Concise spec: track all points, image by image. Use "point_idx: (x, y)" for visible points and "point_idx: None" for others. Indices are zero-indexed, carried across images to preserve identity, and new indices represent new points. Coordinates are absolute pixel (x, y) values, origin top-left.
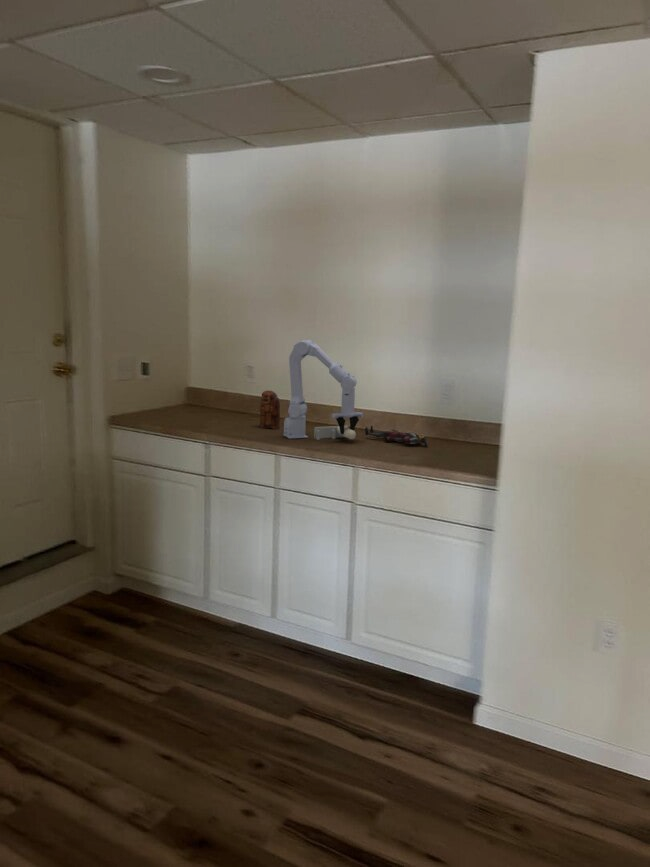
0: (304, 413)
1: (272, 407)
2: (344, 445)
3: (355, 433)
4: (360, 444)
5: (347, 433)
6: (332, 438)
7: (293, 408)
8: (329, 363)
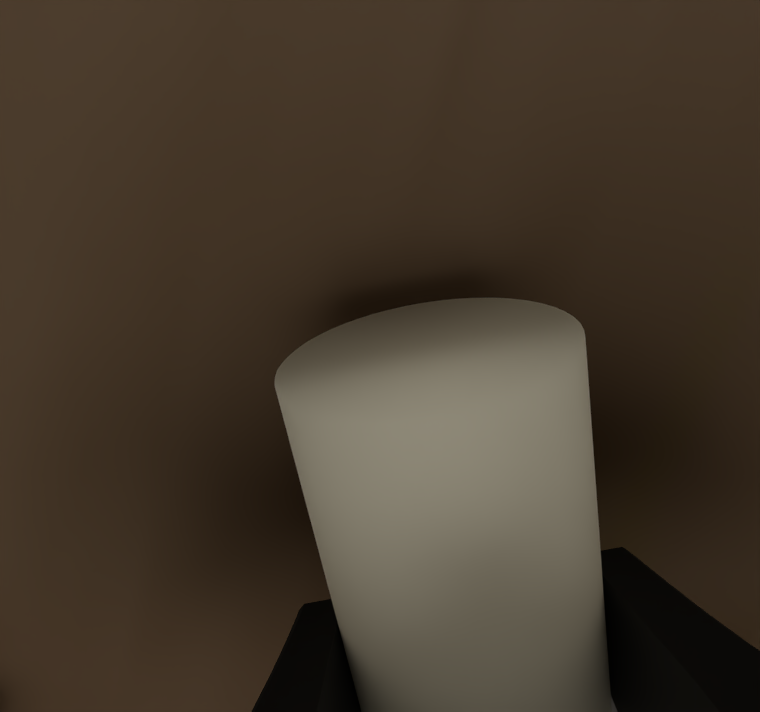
0: None
1: None
2: (631, 76)
3: (282, 388)
4: (199, 166)
5: (585, 356)
6: None
7: None
8: None
